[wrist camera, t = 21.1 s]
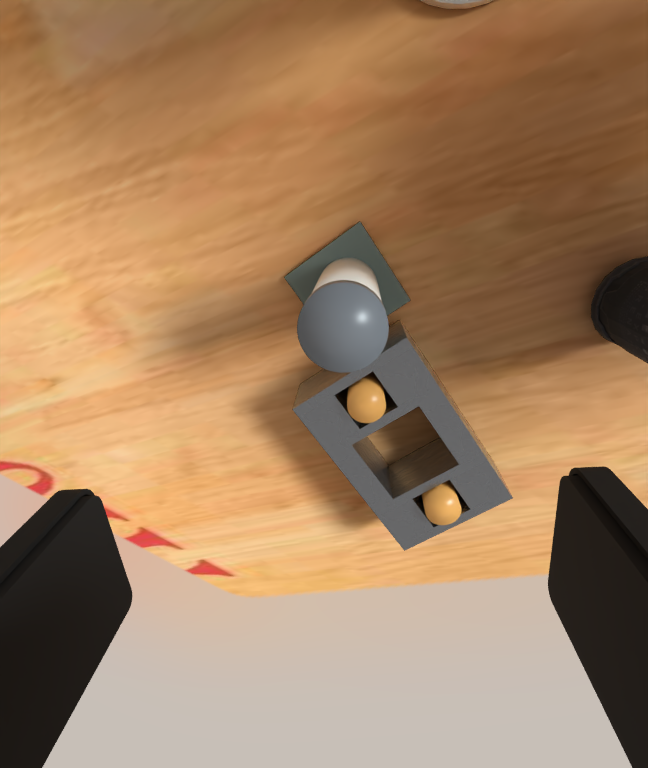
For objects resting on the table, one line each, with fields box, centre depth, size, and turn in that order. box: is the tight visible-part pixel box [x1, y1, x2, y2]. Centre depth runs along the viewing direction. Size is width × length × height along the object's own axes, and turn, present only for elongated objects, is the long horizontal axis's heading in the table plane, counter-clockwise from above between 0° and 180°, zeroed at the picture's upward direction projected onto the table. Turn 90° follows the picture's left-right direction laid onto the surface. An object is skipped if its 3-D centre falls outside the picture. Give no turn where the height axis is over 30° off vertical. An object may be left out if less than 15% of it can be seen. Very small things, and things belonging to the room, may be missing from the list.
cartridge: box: [297, 258, 389, 373], centre depth 29 cm, size 5×5×12 cm
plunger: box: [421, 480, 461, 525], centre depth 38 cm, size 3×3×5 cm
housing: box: [292, 320, 513, 551], centre depth 37 cm, size 16×10×5 cm, turn 35°
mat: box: [284, 222, 410, 316], centre depth 35 cm, size 7×7×1 cm
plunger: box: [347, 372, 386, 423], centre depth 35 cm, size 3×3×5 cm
